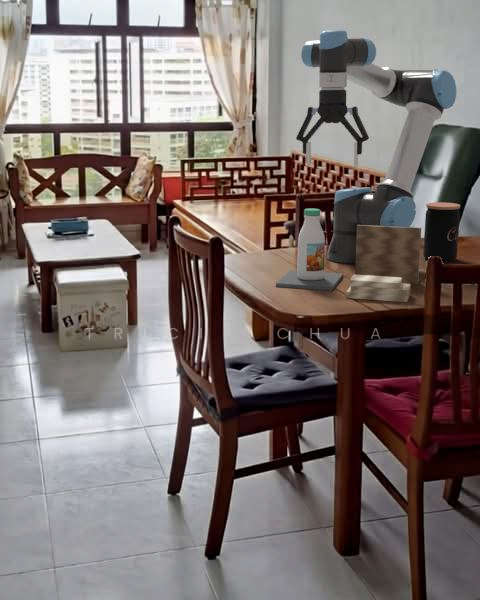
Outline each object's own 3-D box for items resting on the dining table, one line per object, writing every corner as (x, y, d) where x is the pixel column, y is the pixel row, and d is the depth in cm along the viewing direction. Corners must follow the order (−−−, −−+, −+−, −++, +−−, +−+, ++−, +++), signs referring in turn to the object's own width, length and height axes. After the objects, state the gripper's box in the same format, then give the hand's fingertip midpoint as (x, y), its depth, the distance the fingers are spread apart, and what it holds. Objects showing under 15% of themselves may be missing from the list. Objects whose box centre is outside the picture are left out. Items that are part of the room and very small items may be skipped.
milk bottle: (295, 280, 239) (297, 210, 234) (298, 274, 247) (300, 206, 242) (322, 281, 238) (325, 211, 233) (324, 275, 245) (326, 207, 241)
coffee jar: (450, 264, 267) (454, 207, 263) (418, 260, 273) (421, 205, 268) (460, 258, 276) (464, 203, 272) (429, 255, 282) (432, 201, 277)
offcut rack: (342, 297, 225) (344, 238, 221) (357, 276, 249) (359, 223, 245) (410, 302, 220) (414, 242, 216) (419, 280, 244) (422, 226, 240)
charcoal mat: (275, 286, 236) (275, 283, 236) (290, 273, 253) (290, 270, 253) (332, 290, 232) (332, 287, 232) (342, 276, 249) (343, 273, 249)
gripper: (285, 89, 233) (286, 166, 239) (376, 88, 226) (374, 168, 232) (292, 89, 240) (292, 163, 246) (379, 88, 233) (377, 165, 239)
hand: (332, 166), depth 239 cm, fingers open, 13 cm apart
